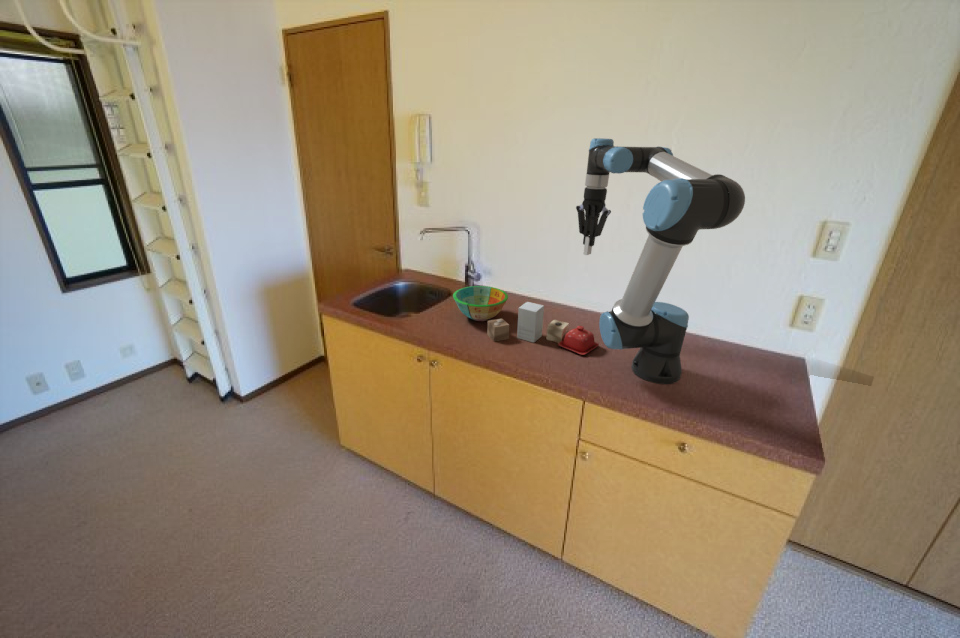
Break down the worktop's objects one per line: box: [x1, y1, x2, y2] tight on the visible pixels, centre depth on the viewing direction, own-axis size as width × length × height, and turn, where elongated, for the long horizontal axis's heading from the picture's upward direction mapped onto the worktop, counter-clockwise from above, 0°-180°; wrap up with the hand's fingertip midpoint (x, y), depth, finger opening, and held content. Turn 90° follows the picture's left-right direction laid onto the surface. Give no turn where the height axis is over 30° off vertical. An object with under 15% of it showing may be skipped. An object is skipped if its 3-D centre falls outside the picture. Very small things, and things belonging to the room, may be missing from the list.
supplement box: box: [516, 301, 545, 344], centre depth 156 cm, size 7×7×13 cm
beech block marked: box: [545, 319, 570, 344], centre depth 157 cm, size 6×6×6 cm
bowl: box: [452, 285, 509, 322], centre depth 172 cm, size 22×22×10 cm
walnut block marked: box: [486, 318, 510, 342], centre depth 157 cm, size 6×6×6 cm
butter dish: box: [557, 325, 599, 356], centre depth 151 cm, size 12×12×8 cm
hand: (587, 254), depth 154 cm, fingers closed
